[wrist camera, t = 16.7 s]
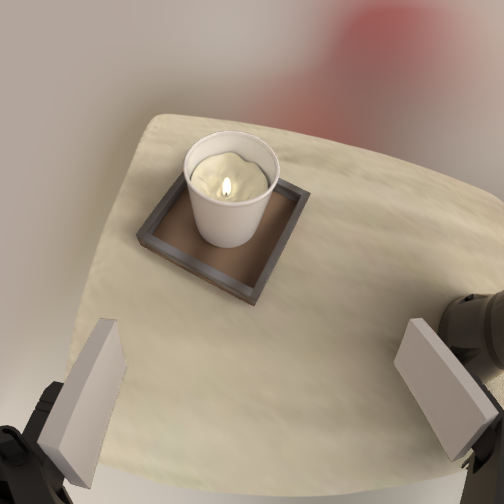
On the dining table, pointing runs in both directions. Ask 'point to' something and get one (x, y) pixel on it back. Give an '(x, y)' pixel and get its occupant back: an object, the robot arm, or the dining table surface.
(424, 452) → the dining table surface
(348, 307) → the dining table surface
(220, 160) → the candle holder
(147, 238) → the socket base
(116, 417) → the dining table surface
